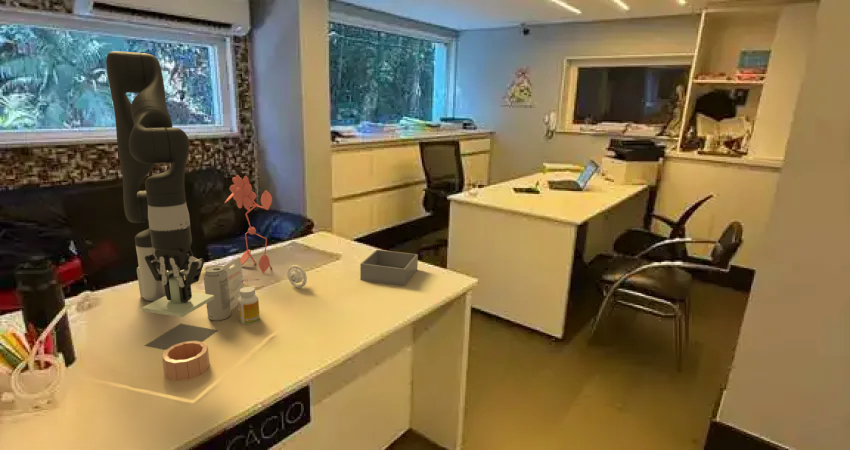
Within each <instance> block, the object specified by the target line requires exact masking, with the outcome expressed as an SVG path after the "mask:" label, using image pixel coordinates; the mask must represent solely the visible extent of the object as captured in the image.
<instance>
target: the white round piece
mask: <svg viewBox="0 0 850 450" xmlns="http://www.w3.org/2000/svg"><path fill="white" fill-rule="evenodd" d="M293 269H294V270H293ZM292 270H293V271H292ZM286 273H287V274H286V275H287V278H288V281H289V283H290V284H291V286H293V287H295V288H297V289H301V288H304V287H305V286H306V284H307V279H308V278H307V273H306V271H305V270H304V269H303V267H301V266H300V265H298V264H293V265H290V266H289V268H288V269H287V272H286ZM299 283H301V284H299Z"/></svg>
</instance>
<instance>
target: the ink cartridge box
mask: <svg viewBox="0 0 850 450" xmlns="http://www.w3.org/2000/svg"><path fill="white" fill-rule="evenodd" d="M240 259H241V256H238V257H236V258H235V259H234V260H233V259H232V260H231V261H230V262H228V263H226V264H224V265H223V267H224V269H225V271H226V272H227V276H228V287H229V297H230V308H231V311H232V310H233V309H235V308H236V307H238V298H239V297H240V289H241V288H244V281H243V280H244V278H243V267H242V265H241V261H240Z"/></svg>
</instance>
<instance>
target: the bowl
mask: <svg viewBox="0 0 850 450" xmlns="http://www.w3.org/2000/svg"><path fill="white" fill-rule="evenodd" d="M161 359H162V366H163V373H164V376H165V377H166V378H167V379H168V380H173V381H185V380H191V379H194V378H196V377H198V376H201V375H202V374H203V373H206V371H207V370H208V369H209V367H210V355H209V346H208V345H207V344H206V343H205V342H204V341H203V342H199V341H188V342H182V343H179V344H176V345H173V346H171V347H170V348H168V349H167V350H164V351H163V354H162V356H161Z"/></svg>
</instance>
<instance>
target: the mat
mask: <svg viewBox="0 0 850 450" xmlns="http://www.w3.org/2000/svg"><path fill="white" fill-rule="evenodd" d="M218 331H219V330H218V329H213V328H209V327H208V328H207V327H201V326H197V325H196V326H195V325H192V324H191V325H190V324H184V323H179V324H178V325H176V326H175V327H172V328H171V329H169V330H168V331H166V332H164V333H163V334H161V335H159V336H158V337H156V338H154V339H153V340H151V341H150V342H148V343H146V344H145V345H144V346H145V347H150V348H155V349H160V350H164V351H165V350H167V349H168V348H170V347H171V346H173V345H176V344H179V343H182V342H188V341H199V342H204V341H206V340H207V339H208V338H210V337H211V336H213V335H214V334H215V333H217V332H218Z"/></svg>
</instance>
